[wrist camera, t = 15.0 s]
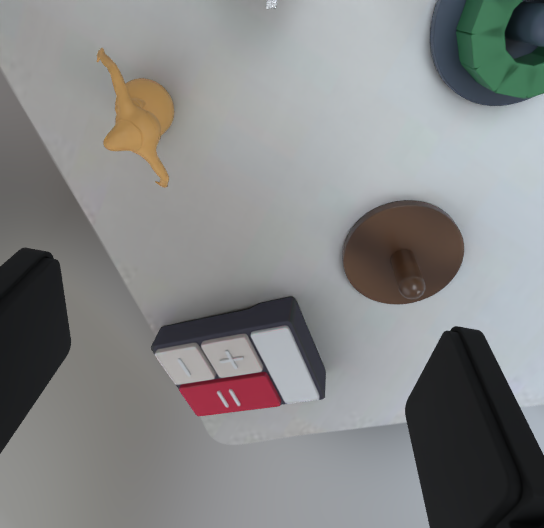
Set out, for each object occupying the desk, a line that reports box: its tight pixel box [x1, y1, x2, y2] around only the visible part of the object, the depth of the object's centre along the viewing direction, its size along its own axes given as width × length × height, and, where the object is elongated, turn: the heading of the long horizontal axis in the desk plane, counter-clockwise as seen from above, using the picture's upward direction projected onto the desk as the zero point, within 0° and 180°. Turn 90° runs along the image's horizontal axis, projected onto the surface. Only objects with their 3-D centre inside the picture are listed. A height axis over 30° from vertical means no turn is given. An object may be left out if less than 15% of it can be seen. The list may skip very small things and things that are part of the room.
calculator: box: [151, 297, 326, 416], centre depth 43 cm, size 11×4×15 cm
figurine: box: [97, 48, 174, 187], centre depth 26 cm, size 8×6×12 cm
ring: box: [456, 0, 544, 99], centre depth 24 cm, size 7×7×3 cm
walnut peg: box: [343, 200, 464, 304], centre depth 34 cm, size 10×10×6 cm
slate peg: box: [430, 0, 544, 106], centre depth 24 cm, size 10×10×6 cm
